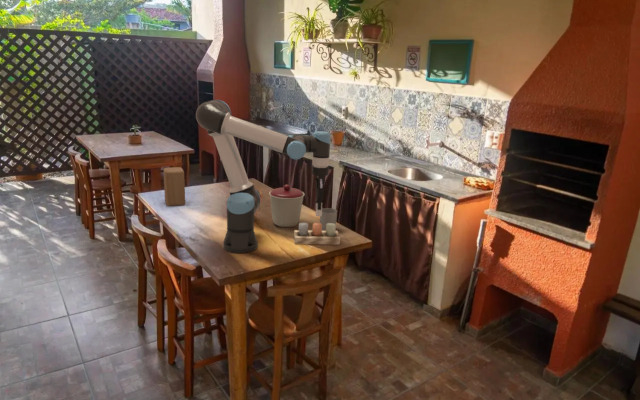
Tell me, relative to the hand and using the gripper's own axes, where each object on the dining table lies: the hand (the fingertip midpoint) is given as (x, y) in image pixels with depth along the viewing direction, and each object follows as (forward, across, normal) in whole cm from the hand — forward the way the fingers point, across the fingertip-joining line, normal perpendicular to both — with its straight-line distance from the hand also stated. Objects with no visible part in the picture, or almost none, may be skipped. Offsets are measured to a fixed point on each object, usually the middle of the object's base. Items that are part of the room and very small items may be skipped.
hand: (318, 215), depth 210 cm
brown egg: (+9, 0, 0) cm, 9 cm away
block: (+11, +53, +76) cm, 94 cm away
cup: (+13, +15, -6) cm, 21 cm away
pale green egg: (+9, 0, -6) cm, 11 cm away
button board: (+12, 0, 0) cm, 12 cm away
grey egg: (+9, 0, +7) cm, 12 cm away
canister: (+12, +22, +14) cm, 29 cm away
